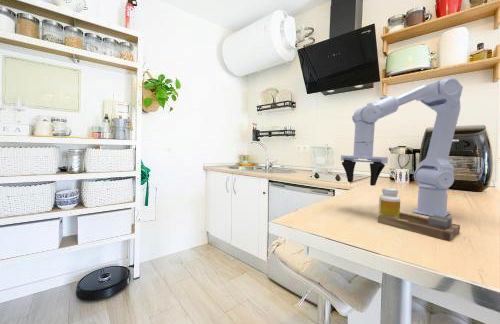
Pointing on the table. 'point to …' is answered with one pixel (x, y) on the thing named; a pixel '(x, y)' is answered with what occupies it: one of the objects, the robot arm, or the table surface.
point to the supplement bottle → (389, 203)
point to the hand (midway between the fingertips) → (361, 183)
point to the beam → (424, 225)
